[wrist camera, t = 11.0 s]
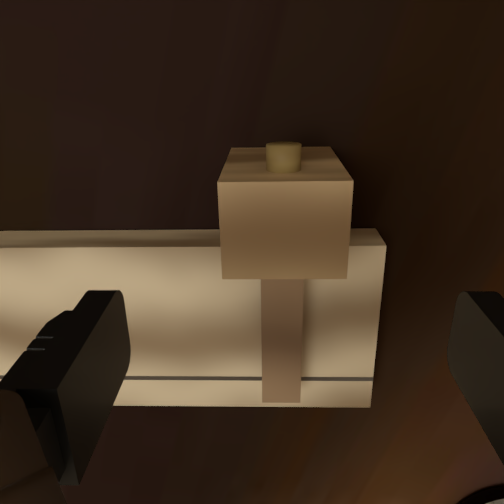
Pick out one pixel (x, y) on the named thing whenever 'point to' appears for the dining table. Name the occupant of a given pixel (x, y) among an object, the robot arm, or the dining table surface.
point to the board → (194, 314)
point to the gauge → (284, 242)
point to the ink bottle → (487, 497)
